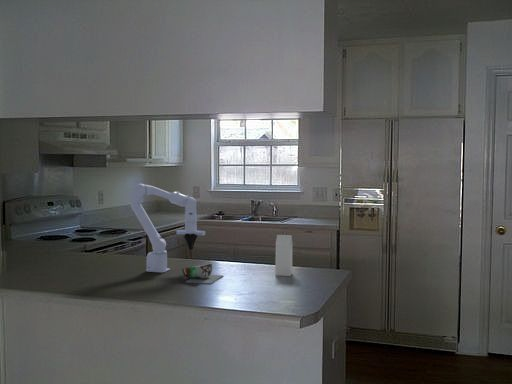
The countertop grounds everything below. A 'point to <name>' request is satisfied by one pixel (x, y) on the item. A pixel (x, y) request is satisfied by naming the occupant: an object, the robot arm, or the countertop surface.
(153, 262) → the robot arm
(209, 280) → the mat
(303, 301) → the countertop surface
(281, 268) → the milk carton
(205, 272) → the food container
